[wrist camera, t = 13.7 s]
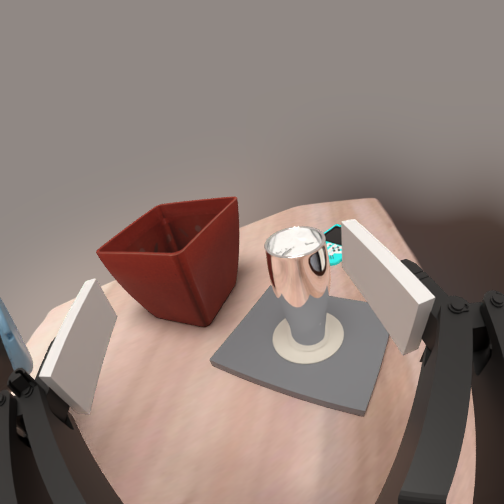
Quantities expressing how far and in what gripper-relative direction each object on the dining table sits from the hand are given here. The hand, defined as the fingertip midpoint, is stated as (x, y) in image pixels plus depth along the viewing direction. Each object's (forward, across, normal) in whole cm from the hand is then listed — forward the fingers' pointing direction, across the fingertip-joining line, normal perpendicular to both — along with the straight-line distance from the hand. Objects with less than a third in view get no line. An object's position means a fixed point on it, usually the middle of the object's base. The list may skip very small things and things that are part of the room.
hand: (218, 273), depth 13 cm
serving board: (+13, +8, -24) cm, 28 cm away
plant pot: (+30, -10, -25) cm, 40 cm away
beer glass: (+13, +8, -22) cm, 27 cm away
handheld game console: (+38, +21, -25) cm, 50 cm away
